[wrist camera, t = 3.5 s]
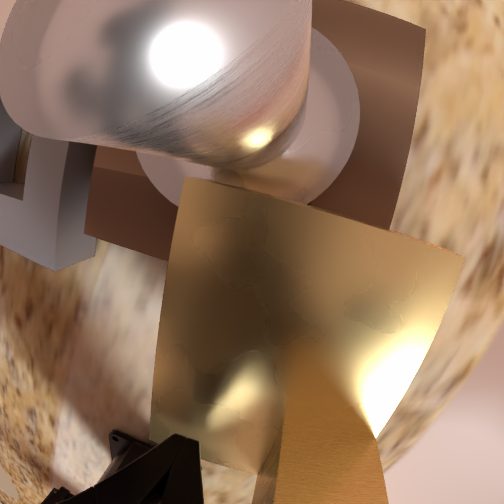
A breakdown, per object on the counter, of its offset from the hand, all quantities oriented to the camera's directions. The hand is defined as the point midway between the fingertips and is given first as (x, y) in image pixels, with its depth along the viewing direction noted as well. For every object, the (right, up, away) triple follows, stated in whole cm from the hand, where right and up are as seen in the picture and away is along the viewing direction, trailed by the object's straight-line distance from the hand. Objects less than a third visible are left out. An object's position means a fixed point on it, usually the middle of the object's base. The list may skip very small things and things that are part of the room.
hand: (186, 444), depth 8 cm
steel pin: (+2, +10, +4) cm, 11 cm away
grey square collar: (-9, +12, +5) cm, 16 cm away
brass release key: (+3, +3, +1) cm, 4 cm away
